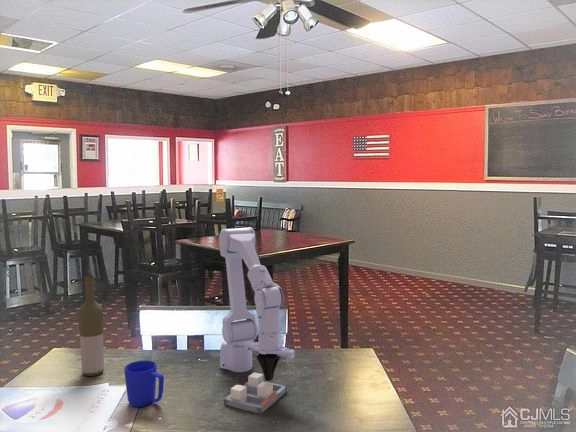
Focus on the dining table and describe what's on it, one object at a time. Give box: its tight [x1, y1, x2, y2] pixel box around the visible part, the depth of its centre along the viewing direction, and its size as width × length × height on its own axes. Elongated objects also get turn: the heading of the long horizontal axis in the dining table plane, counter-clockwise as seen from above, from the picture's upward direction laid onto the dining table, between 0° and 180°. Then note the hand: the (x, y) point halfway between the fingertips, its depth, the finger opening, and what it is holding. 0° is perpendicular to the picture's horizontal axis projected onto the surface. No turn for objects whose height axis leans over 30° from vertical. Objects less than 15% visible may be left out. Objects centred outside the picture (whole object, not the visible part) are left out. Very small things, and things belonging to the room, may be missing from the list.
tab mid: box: [257, 381, 273, 399], centre depth 131 cm, size 3×3×4 cm
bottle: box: [78, 274, 105, 377], centre depth 150 cm, size 7×7×30 cm
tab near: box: [230, 384, 247, 402], centre depth 129 cm, size 3×3×4 cm
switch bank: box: [223, 380, 288, 414], centre depth 132 cm, size 11×14×3 cm
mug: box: [123, 360, 165, 408], centre depth 131 cm, size 8×12×10 cm
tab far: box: [247, 371, 264, 388], centre depth 137 cm, size 3×3×4 cm
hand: (269, 379), depth 135 cm, fingers closed
